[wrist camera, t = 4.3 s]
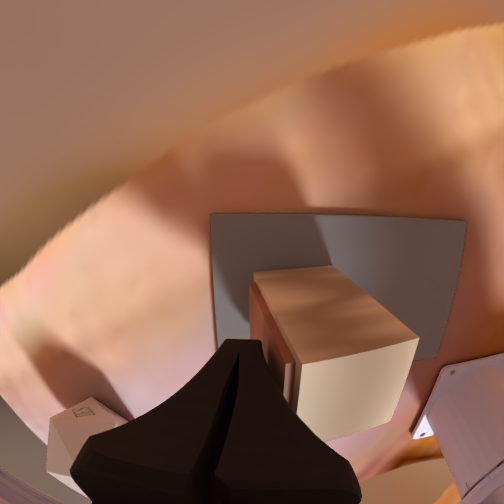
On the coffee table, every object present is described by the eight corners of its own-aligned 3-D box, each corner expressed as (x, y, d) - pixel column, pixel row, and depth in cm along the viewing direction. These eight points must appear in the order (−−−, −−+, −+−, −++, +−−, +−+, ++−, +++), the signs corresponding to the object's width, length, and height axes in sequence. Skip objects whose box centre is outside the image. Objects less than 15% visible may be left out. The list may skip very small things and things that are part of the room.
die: (127, 373, 19) (11, 413, 12) (189, 472, 17) (79, 528, 9) (112, 395, 24) (27, 426, 17) (158, 470, 21) (76, 510, 14)
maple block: (332, 265, 15) (419, 337, 8) (325, 333, 16) (389, 421, 9) (247, 272, 14) (291, 366, 7) (248, 344, 15) (283, 450, 9)
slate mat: (463, 220, 14) (467, 222, 13) (433, 354, 16) (435, 357, 16) (211, 213, 15) (209, 214, 14) (220, 363, 17) (219, 367, 17)
